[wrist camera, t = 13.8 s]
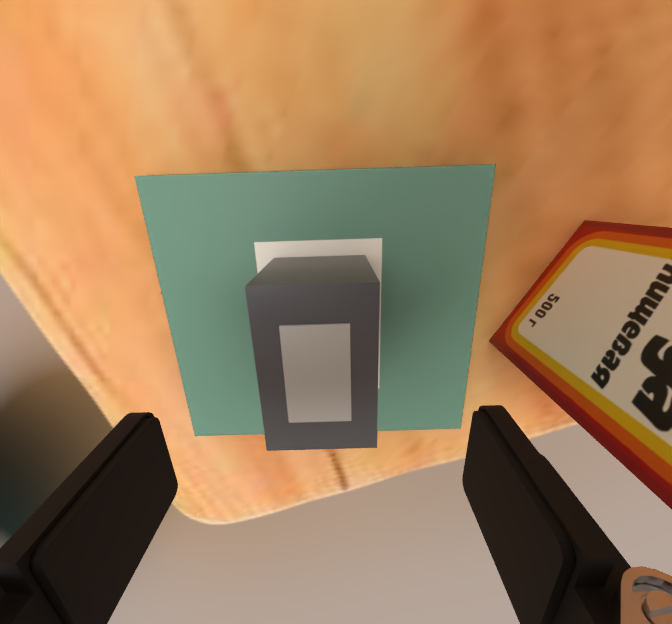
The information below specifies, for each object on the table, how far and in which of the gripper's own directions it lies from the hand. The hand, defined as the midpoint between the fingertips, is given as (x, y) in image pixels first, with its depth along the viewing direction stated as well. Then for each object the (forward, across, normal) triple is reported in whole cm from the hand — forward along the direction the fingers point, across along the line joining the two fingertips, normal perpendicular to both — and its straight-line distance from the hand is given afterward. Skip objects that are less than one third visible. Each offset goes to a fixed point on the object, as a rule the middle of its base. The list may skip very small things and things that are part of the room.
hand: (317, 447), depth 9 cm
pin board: (+13, 0, +1) cm, 13 cm away
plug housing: (+11, 0, +1) cm, 11 cm away
